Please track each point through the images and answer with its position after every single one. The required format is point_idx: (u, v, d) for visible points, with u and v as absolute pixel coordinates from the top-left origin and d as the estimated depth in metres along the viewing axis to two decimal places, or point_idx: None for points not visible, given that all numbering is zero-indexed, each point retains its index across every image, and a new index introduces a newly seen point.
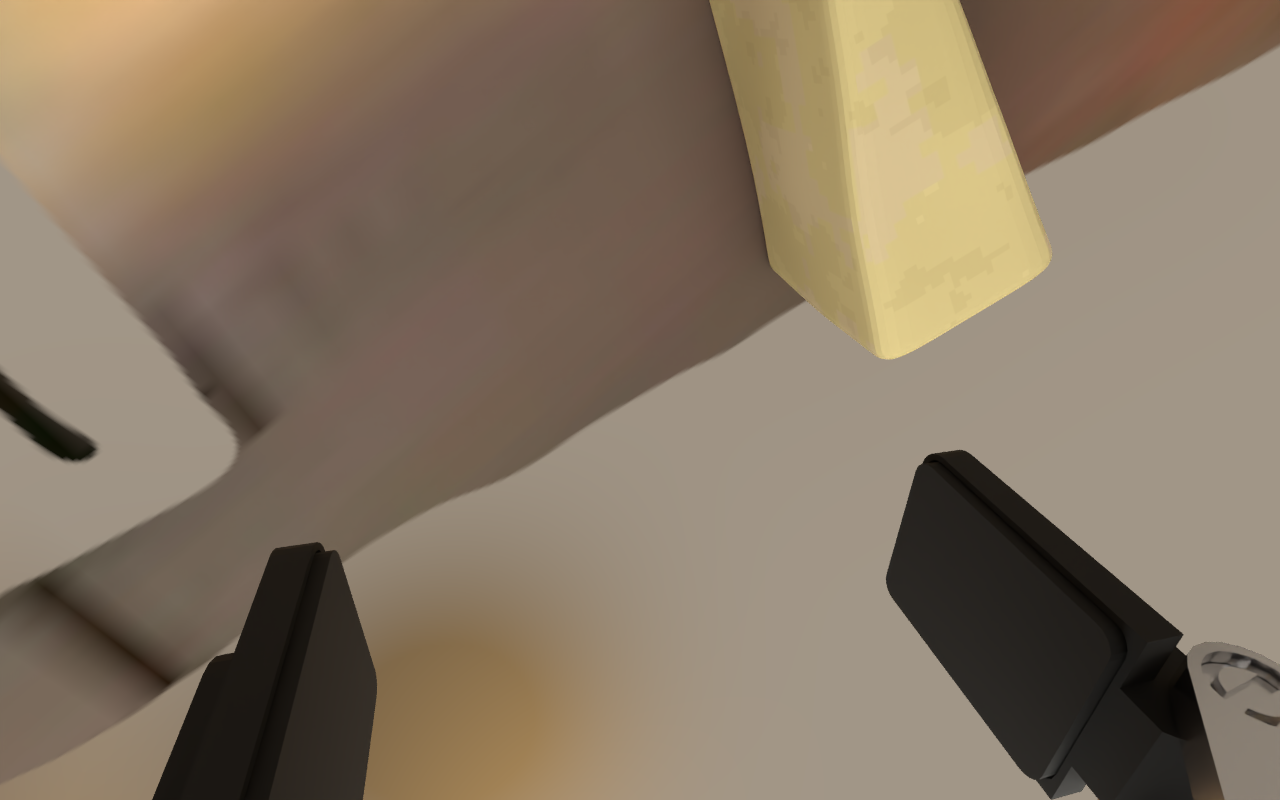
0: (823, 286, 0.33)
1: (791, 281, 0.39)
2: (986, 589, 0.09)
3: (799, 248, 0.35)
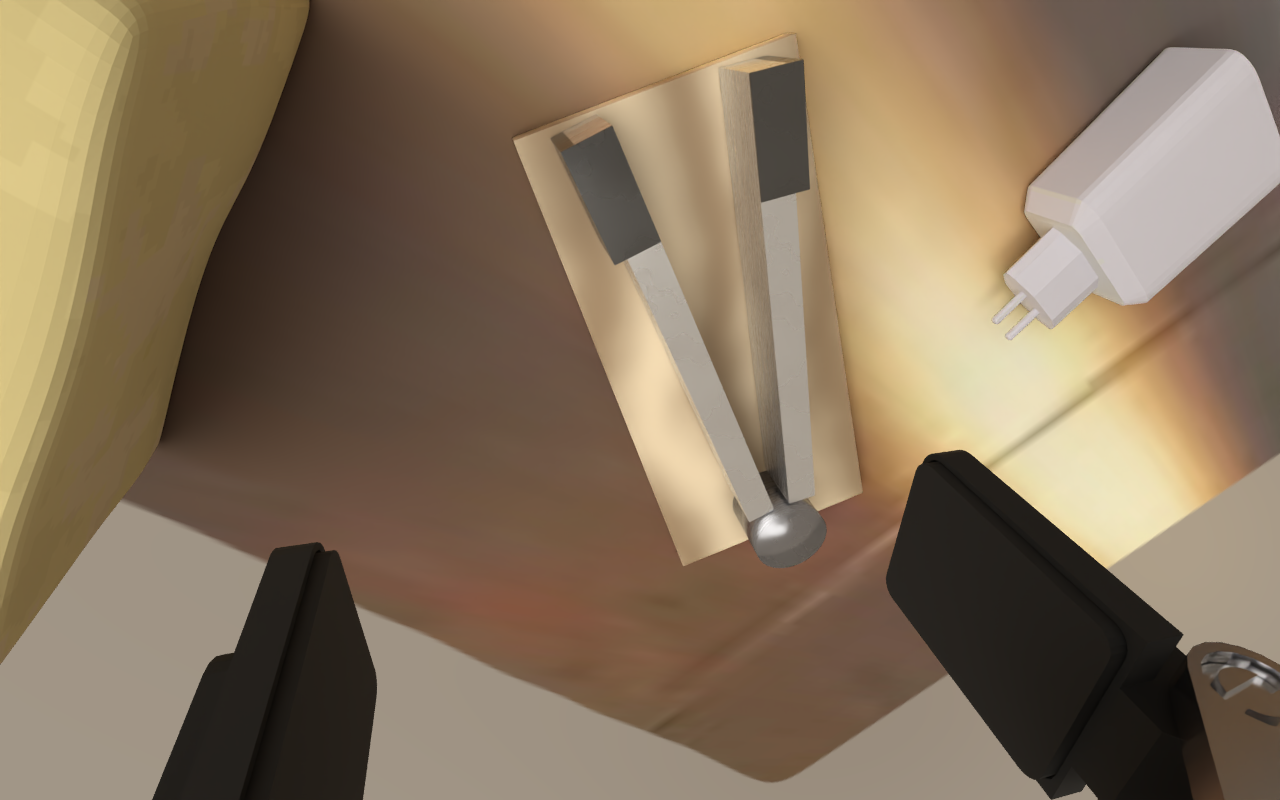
0: None
1: None
2: (986, 589, 0.09)
3: None
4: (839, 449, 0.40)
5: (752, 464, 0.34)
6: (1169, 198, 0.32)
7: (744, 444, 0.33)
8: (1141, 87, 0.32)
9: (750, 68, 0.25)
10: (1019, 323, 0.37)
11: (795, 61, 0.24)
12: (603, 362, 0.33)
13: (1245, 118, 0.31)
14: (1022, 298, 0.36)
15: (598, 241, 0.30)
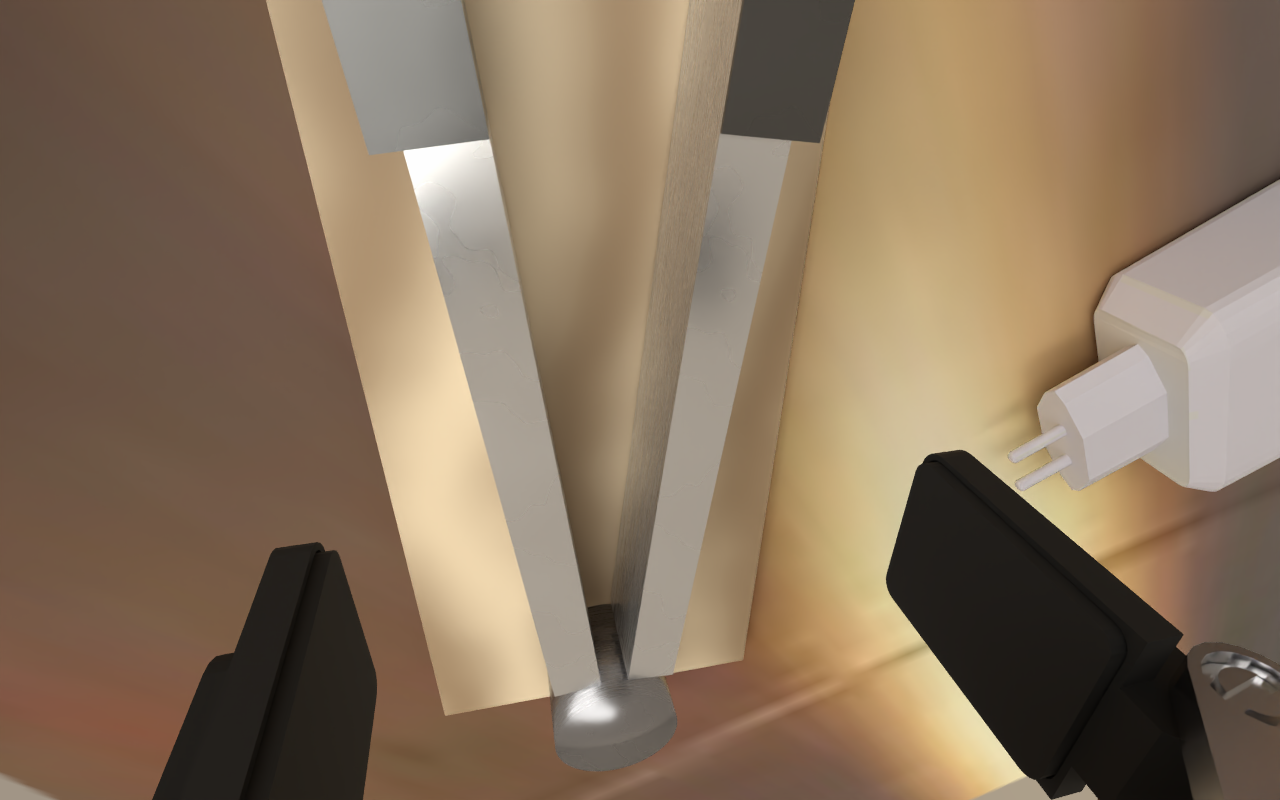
0: None
1: None
2: (986, 589, 0.09)
3: None
4: (728, 595, 0.26)
5: (581, 611, 0.19)
6: None
7: (575, 577, 0.19)
8: None
9: None
10: (1040, 470, 0.24)
11: None
12: (360, 364, 0.18)
13: None
14: (1060, 436, 0.23)
15: None
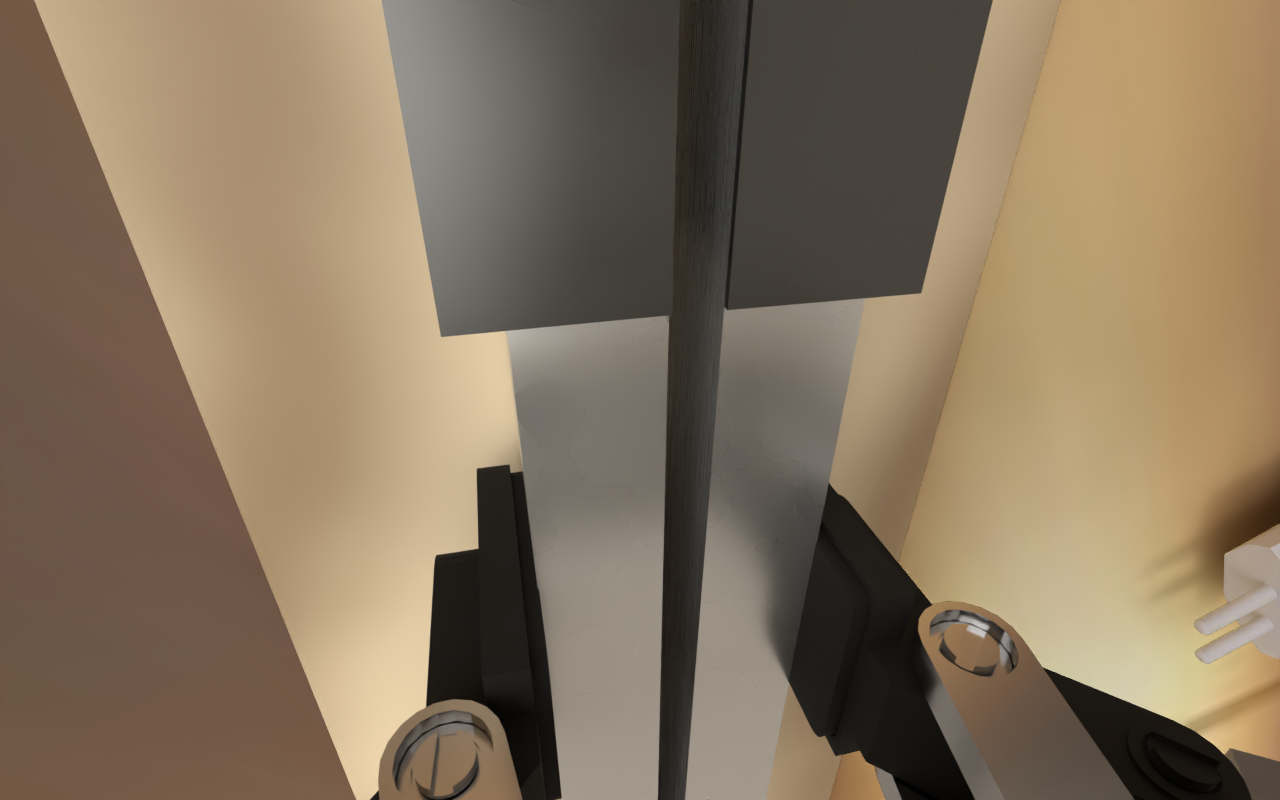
0: None
1: None
2: None
3: None
4: None
5: None
6: None
7: None
8: None
9: None
10: (1232, 638, 0.18)
11: None
12: (281, 600, 0.11)
13: None
14: (1269, 600, 0.17)
15: (306, 263, 0.09)
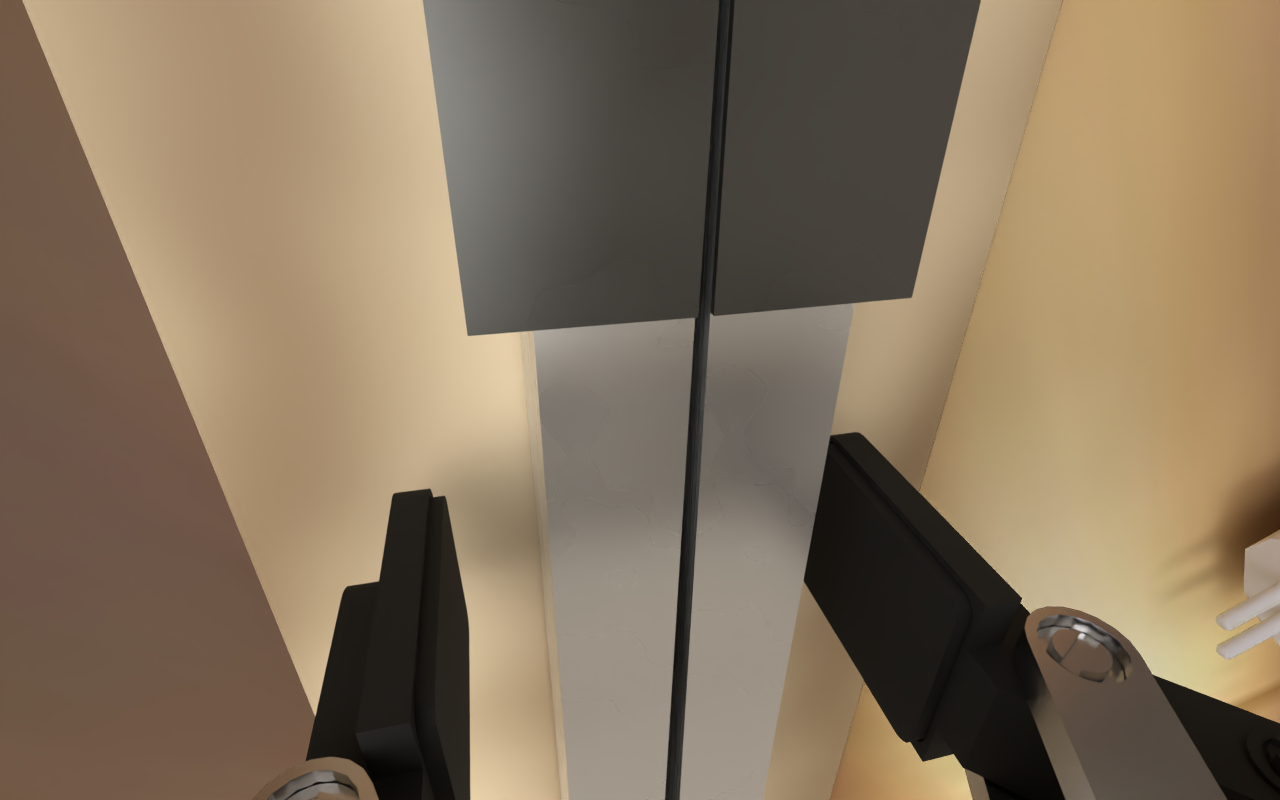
0: None
1: None
2: (867, 562, 0.10)
3: None
4: None
5: None
6: None
7: None
8: None
9: None
10: (1254, 633, 0.18)
11: None
12: (275, 605, 0.11)
13: None
14: None
15: (299, 266, 0.09)
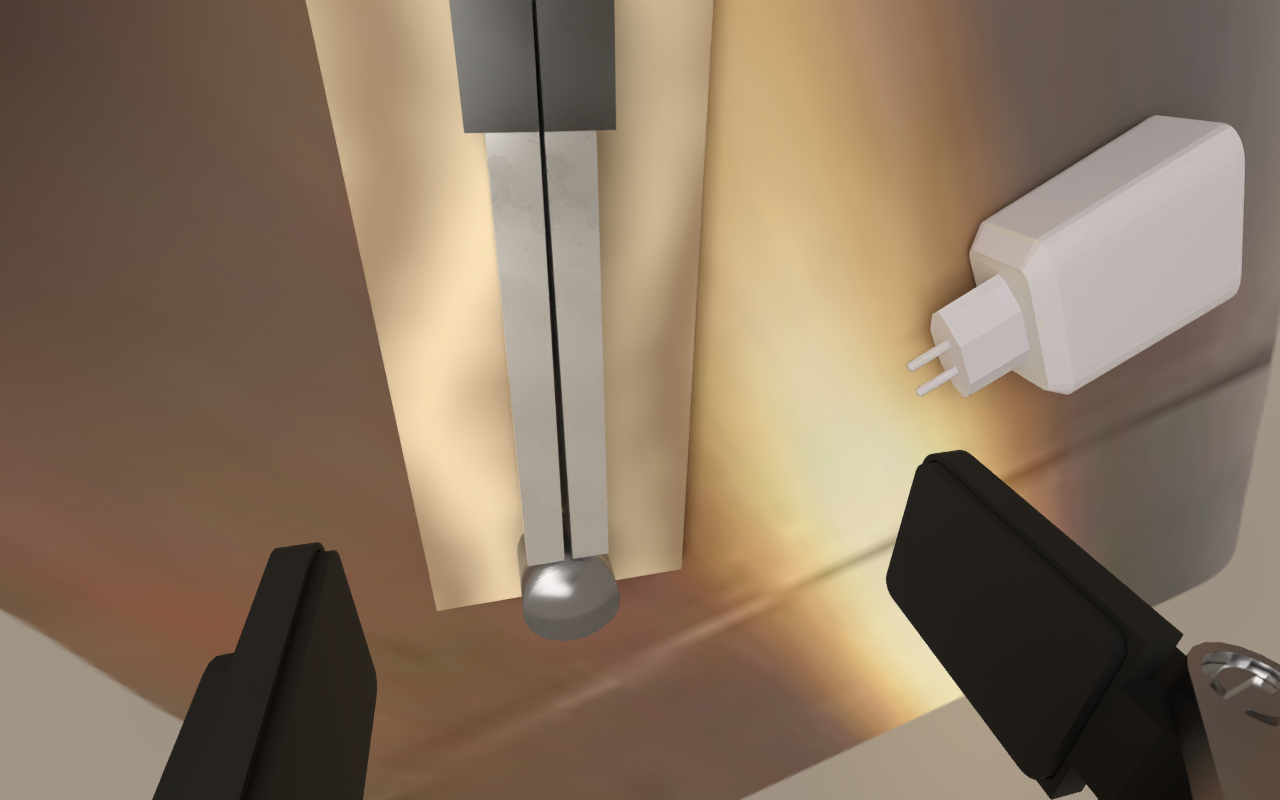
0: None
1: None
2: (986, 589, 0.09)
3: None
4: (664, 508, 0.33)
5: (557, 490, 0.26)
6: (1126, 273, 0.28)
7: (555, 460, 0.25)
8: (1121, 145, 0.28)
9: None
10: (934, 379, 0.31)
11: None
12: (374, 306, 0.24)
13: (1219, 208, 0.27)
14: (946, 348, 0.30)
15: (396, 132, 0.22)
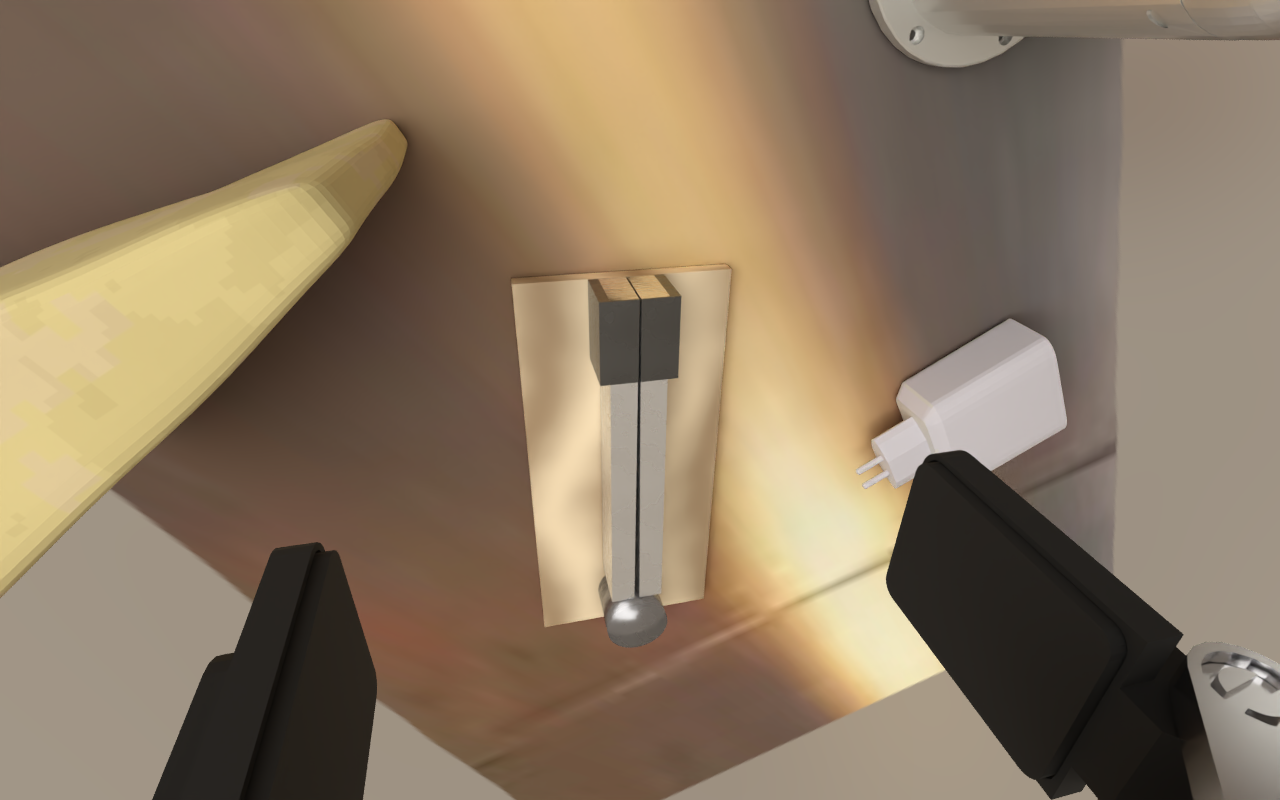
0: None
1: None
2: (986, 589, 0.09)
3: None
4: (693, 560, 0.50)
5: (633, 558, 0.43)
6: (988, 421, 0.45)
7: (633, 541, 0.42)
8: (988, 339, 0.45)
9: (645, 291, 0.35)
10: (874, 478, 0.48)
11: (675, 296, 0.34)
12: (529, 453, 0.41)
13: (1044, 383, 0.44)
14: (880, 461, 0.47)
15: (552, 366, 0.39)
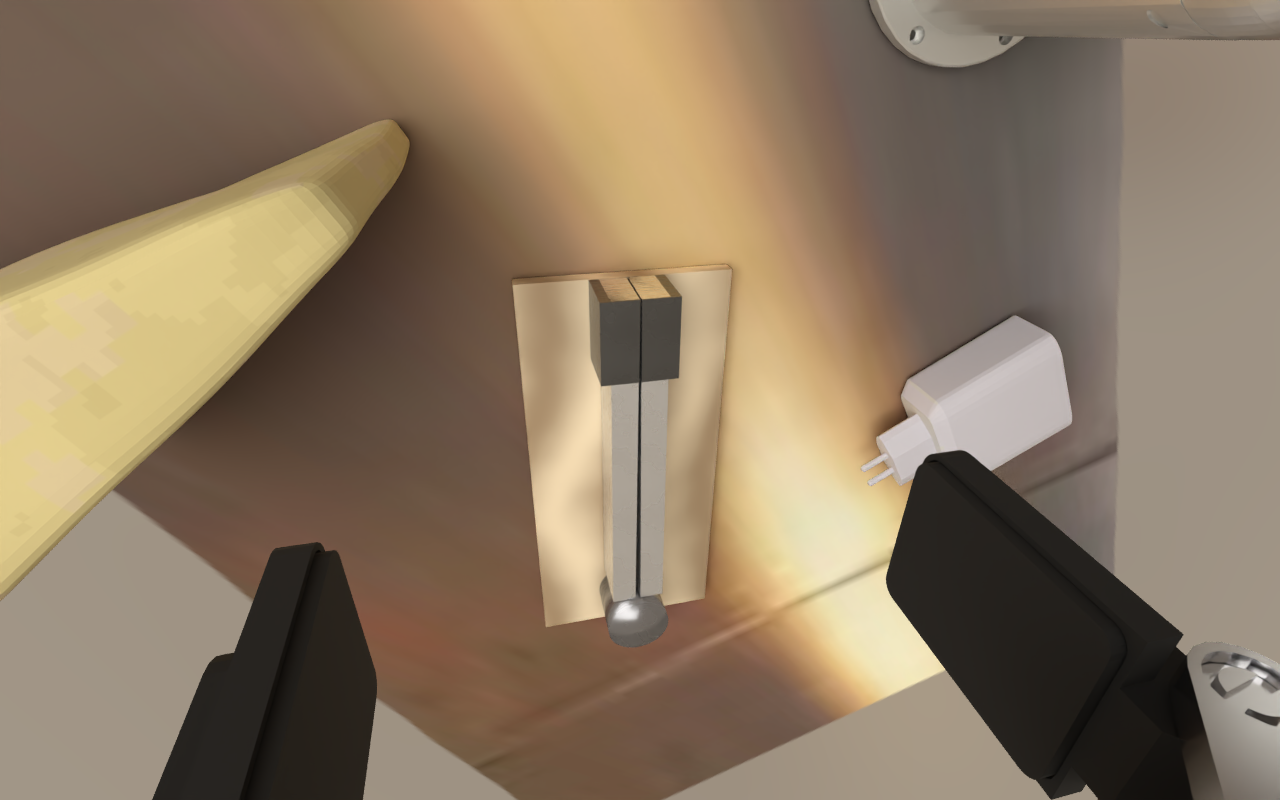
0: None
1: None
2: (986, 589, 0.09)
3: None
4: (694, 560, 0.50)
5: (634, 558, 0.43)
6: (993, 417, 0.45)
7: (634, 541, 0.42)
8: (993, 336, 0.45)
9: (645, 292, 0.35)
10: (879, 475, 0.48)
11: (676, 296, 0.34)
12: (530, 453, 0.41)
13: (1050, 380, 0.44)
14: (885, 458, 0.47)
15: (553, 367, 0.39)
